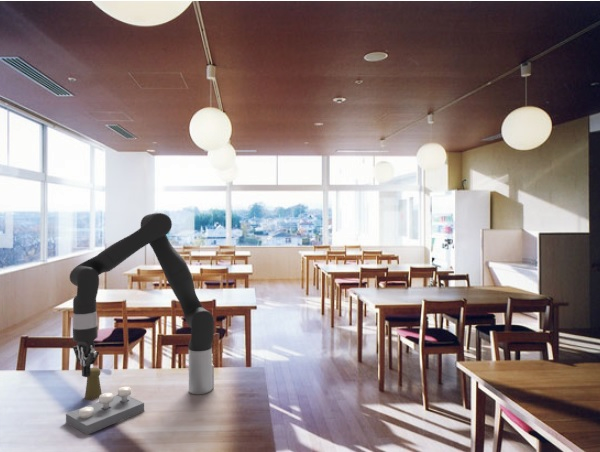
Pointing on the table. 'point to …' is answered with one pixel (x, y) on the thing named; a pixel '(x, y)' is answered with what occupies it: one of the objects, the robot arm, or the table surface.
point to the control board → (105, 414)
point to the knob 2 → (124, 393)
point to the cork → (93, 385)
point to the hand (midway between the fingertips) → (86, 376)
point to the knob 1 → (86, 412)
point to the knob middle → (105, 400)
